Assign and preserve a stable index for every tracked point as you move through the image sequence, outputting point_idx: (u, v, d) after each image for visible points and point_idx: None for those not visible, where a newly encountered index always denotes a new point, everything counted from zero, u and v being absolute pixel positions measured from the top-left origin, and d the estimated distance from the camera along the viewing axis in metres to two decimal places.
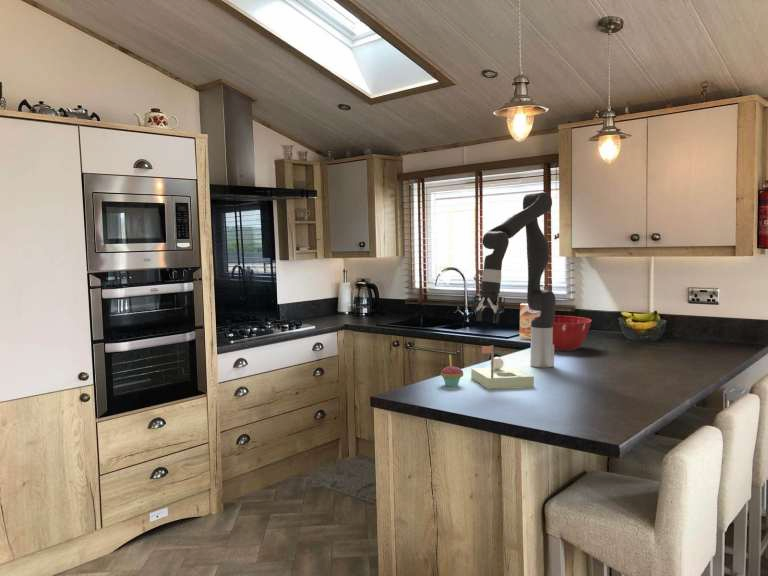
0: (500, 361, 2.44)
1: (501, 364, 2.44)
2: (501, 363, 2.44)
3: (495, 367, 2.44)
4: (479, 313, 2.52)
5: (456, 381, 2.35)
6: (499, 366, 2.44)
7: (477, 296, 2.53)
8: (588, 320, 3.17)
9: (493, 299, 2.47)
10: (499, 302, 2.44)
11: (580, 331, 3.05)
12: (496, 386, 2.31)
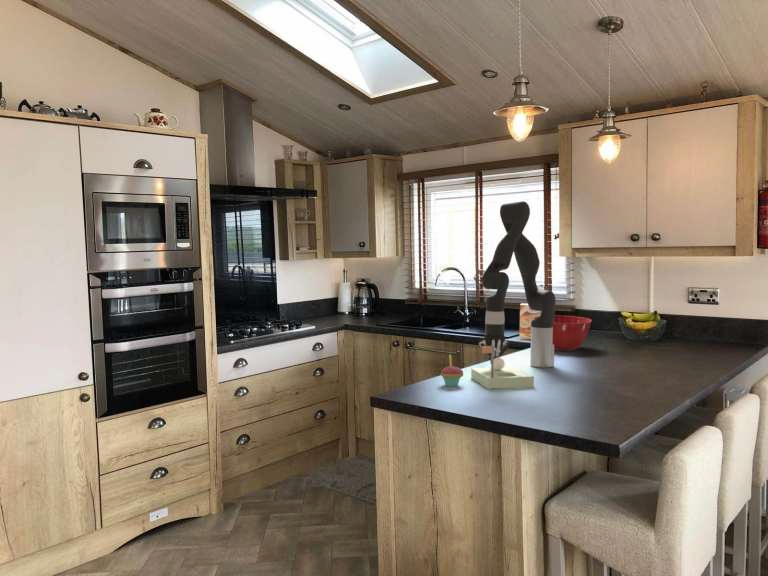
0: (501, 364, 2.43)
1: (502, 366, 2.43)
2: (502, 365, 2.43)
3: (496, 368, 2.44)
4: None
5: (456, 381, 2.35)
6: (500, 368, 2.43)
7: (483, 343, 2.46)
8: (588, 320, 3.17)
9: (502, 343, 2.47)
10: (506, 347, 2.48)
11: (580, 331, 3.05)
12: (496, 386, 2.31)
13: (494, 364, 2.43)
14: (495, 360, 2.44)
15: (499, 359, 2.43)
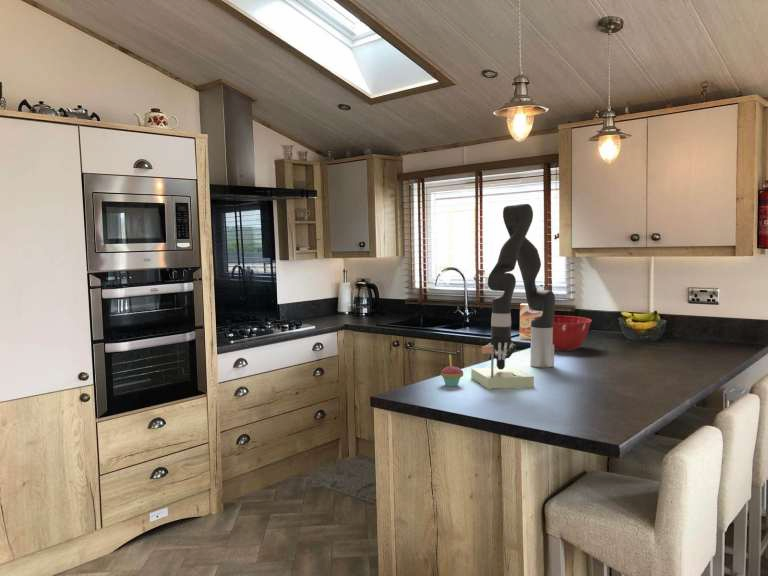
0: None
1: None
2: None
3: (503, 373, 2.36)
4: None
5: (456, 381, 2.35)
6: None
7: None
8: (588, 320, 3.17)
9: (508, 346, 2.41)
10: (513, 350, 2.41)
11: (580, 331, 3.05)
12: (496, 386, 2.31)
13: None
14: None
15: None
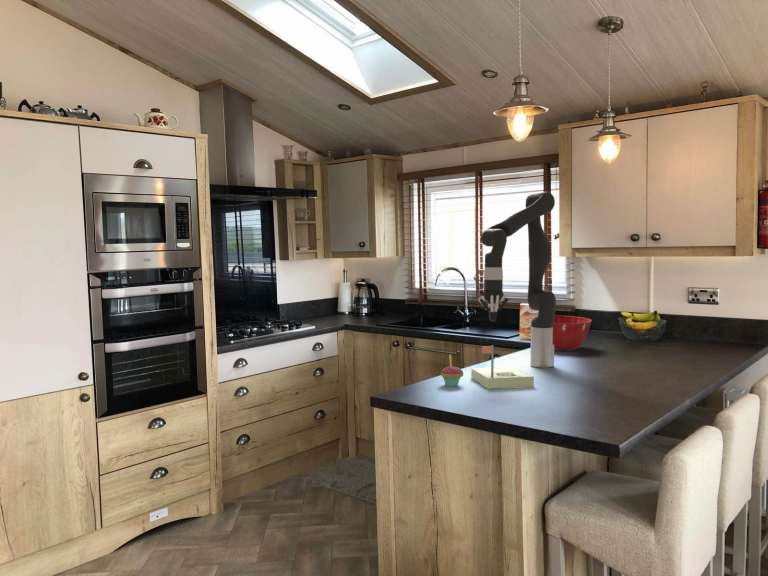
0: None
1: None
2: None
3: None
4: None
5: (456, 381, 2.35)
6: None
7: (481, 299, 2.53)
8: (588, 320, 3.17)
9: (500, 299, 2.54)
10: (504, 302, 2.55)
11: (580, 331, 3.05)
12: (496, 386, 2.31)
13: None
14: None
15: None
